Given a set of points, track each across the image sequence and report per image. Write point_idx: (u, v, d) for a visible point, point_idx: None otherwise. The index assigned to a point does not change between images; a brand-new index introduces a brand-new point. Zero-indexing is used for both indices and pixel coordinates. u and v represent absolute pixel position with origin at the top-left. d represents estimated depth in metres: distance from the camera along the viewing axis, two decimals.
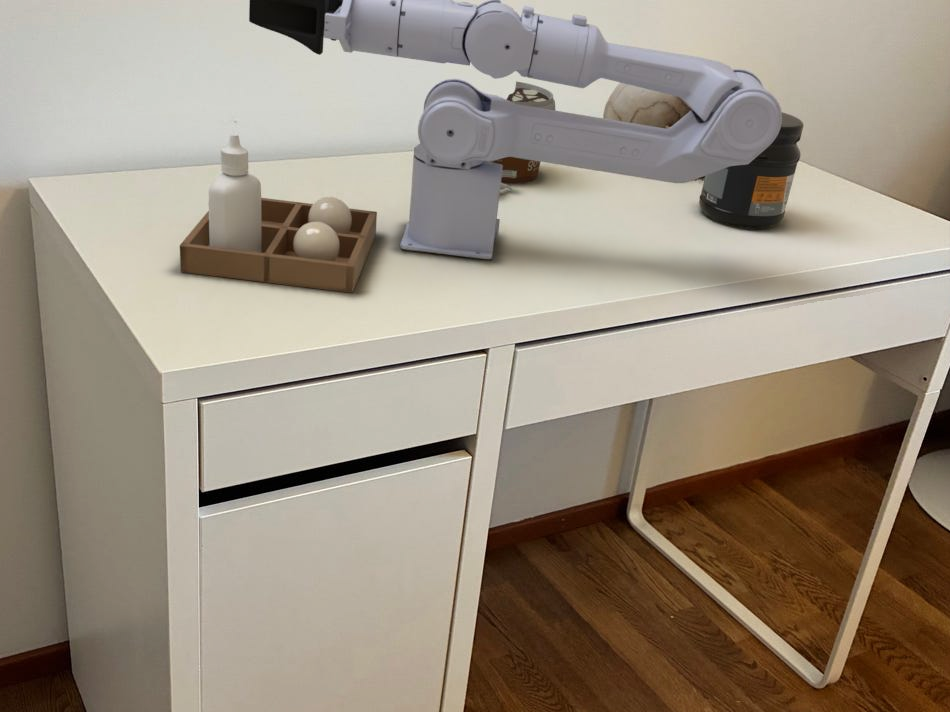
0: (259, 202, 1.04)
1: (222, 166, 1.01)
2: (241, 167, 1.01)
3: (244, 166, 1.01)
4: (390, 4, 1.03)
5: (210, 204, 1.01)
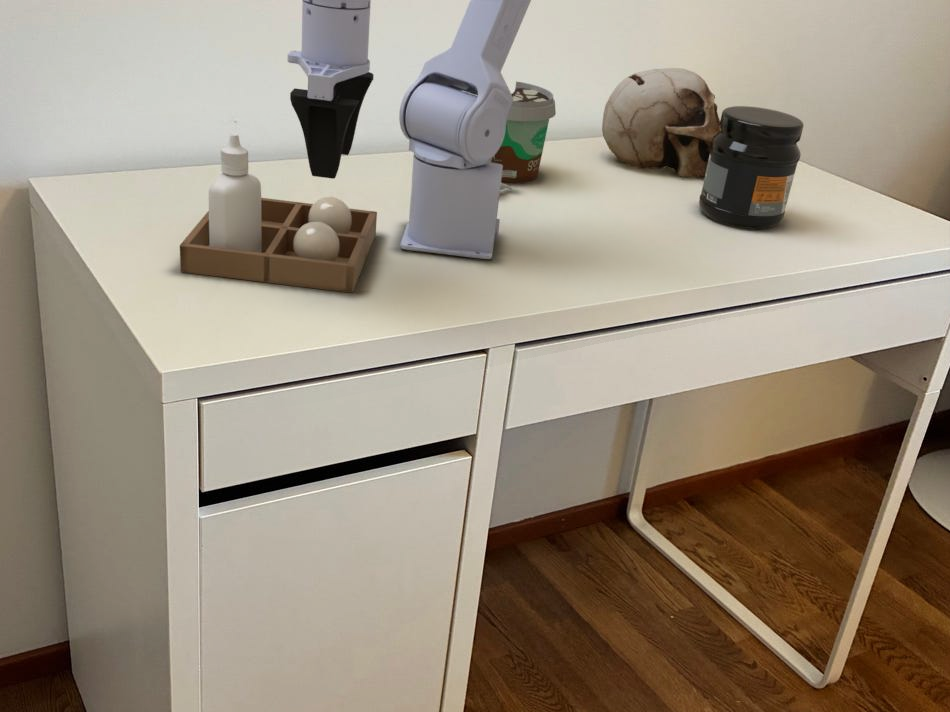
0: (259, 202, 1.04)
1: (222, 166, 1.01)
2: (241, 167, 1.01)
3: (244, 166, 1.01)
4: (309, 16, 0.92)
5: (210, 204, 1.01)
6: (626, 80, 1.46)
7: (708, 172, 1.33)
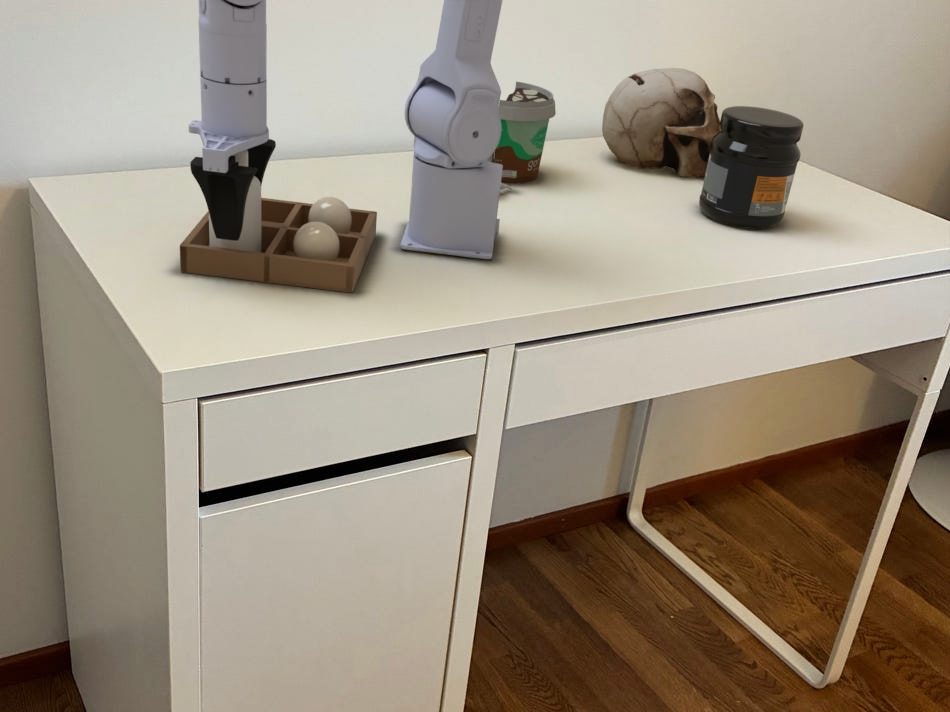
0: (259, 202, 1.04)
1: None
2: None
3: None
4: (206, 90, 0.96)
5: None
6: (626, 80, 1.46)
7: (708, 172, 1.33)
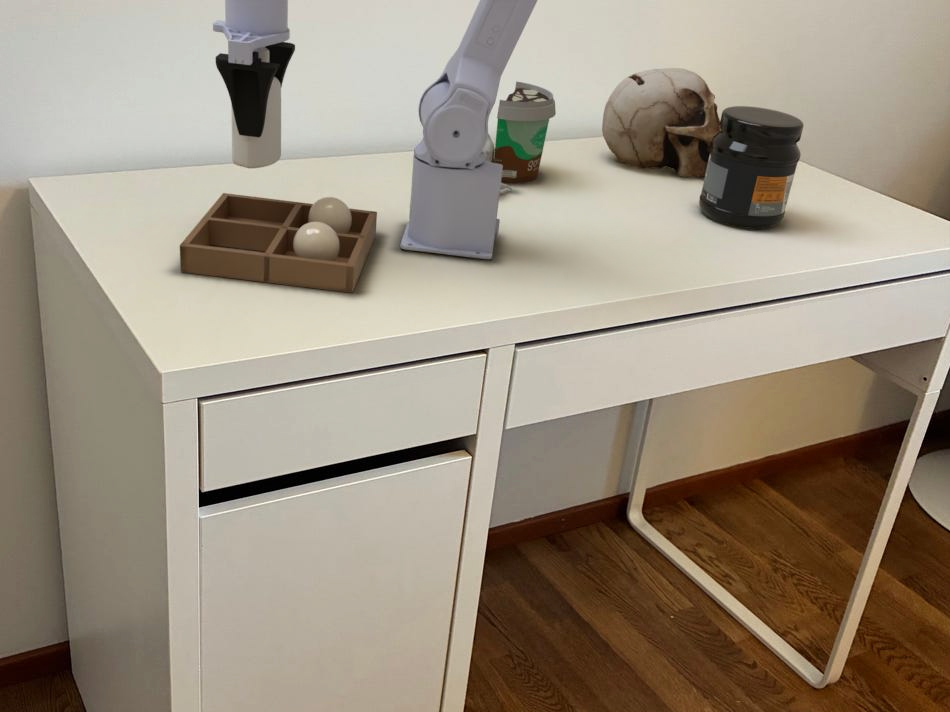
0: (279, 103, 1.08)
1: None
2: None
3: None
4: None
5: None
6: (626, 80, 1.46)
7: (708, 172, 1.33)
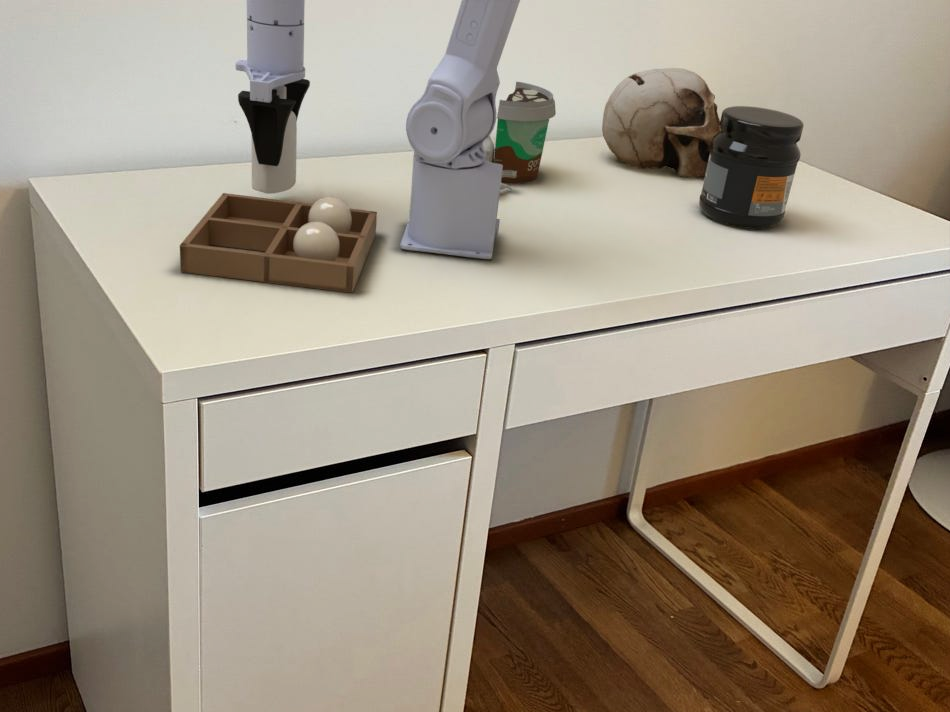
0: (295, 134, 1.19)
1: None
2: None
3: None
4: (252, 32, 1.11)
5: None
6: (626, 80, 1.46)
7: (708, 172, 1.33)
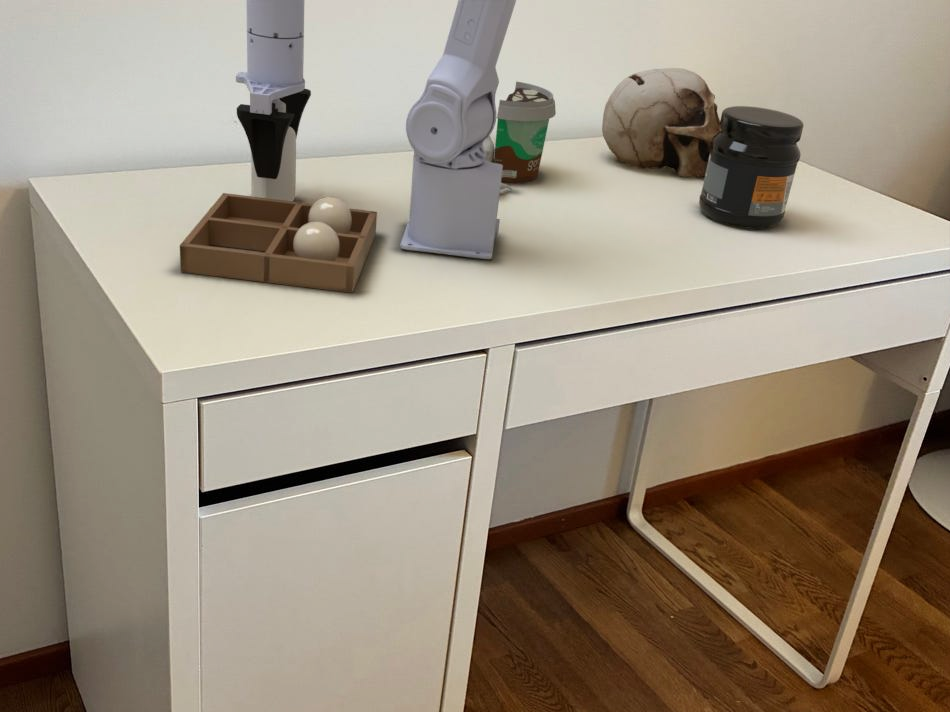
0: (294, 150, 1.20)
1: None
2: None
3: None
4: (252, 44, 1.11)
5: None
6: (626, 80, 1.46)
7: (708, 172, 1.33)
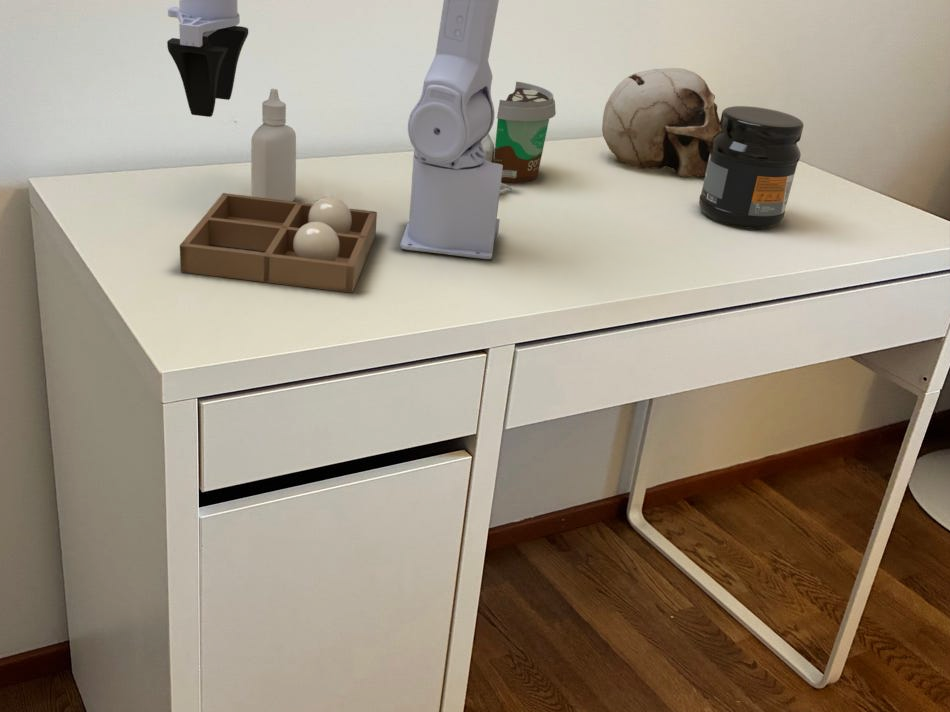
0: (294, 150, 1.20)
1: (263, 117, 1.16)
2: (279, 118, 1.16)
3: (282, 117, 1.16)
4: None
5: (253, 150, 1.17)
6: (626, 80, 1.46)
7: (708, 172, 1.33)
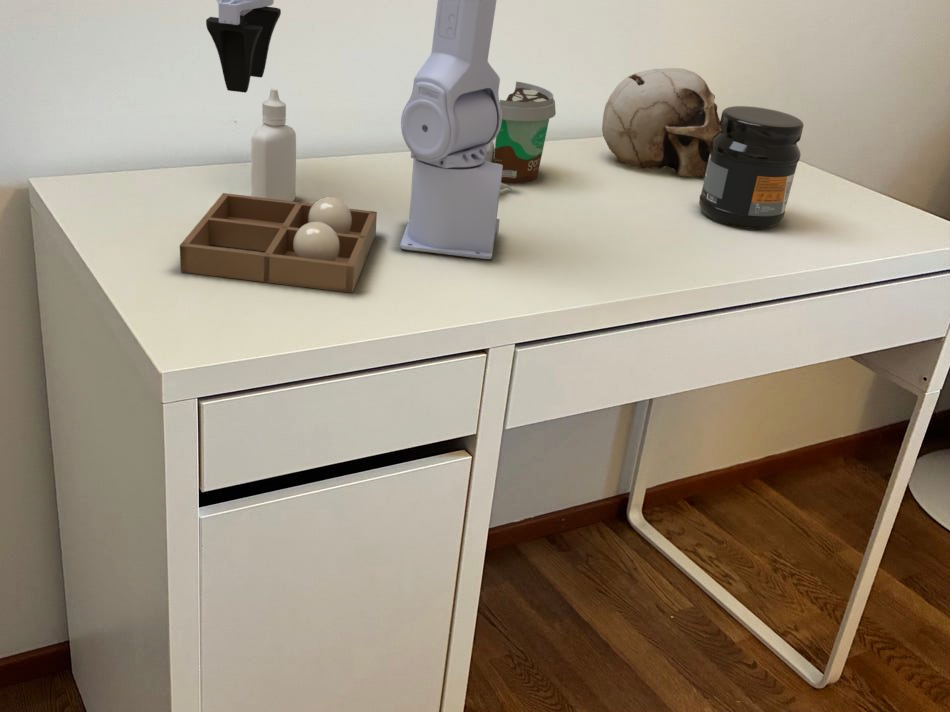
0: (294, 150, 1.20)
1: (263, 117, 1.16)
2: (279, 118, 1.16)
3: (282, 117, 1.16)
4: None
5: (253, 150, 1.17)
6: (626, 80, 1.46)
7: (708, 172, 1.33)
